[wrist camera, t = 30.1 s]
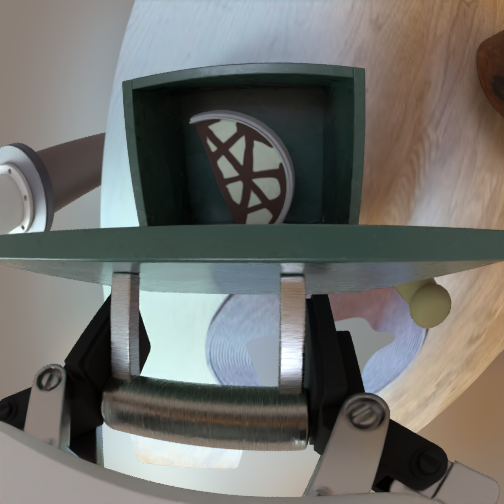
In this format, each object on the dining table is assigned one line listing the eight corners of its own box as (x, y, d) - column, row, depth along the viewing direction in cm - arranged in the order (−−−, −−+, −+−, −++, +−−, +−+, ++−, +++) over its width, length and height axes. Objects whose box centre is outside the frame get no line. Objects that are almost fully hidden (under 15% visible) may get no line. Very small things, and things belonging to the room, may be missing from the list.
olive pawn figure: (406, 288, 38) (436, 340, 28) (375, 275, 37) (402, 330, 27) (429, 254, 35) (467, 301, 25) (398, 238, 34) (436, 286, 24)
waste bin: (175, 89, 28) (121, 81, 16) (328, 83, 26) (364, 68, 15) (188, 225, 35) (151, 283, 24) (325, 224, 34) (349, 285, 23)
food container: (303, 199, 32) (315, 237, 23) (251, 215, 33) (243, 257, 24) (267, 94, 27) (266, 86, 18) (212, 114, 28) (186, 116, 19)
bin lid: (-26, 236, 6) (-23, 400, 5) (506, 229, 5) (493, 444, 4) (150, 282, 24) (149, 352, 23) (351, 283, 22) (350, 357, 21)
